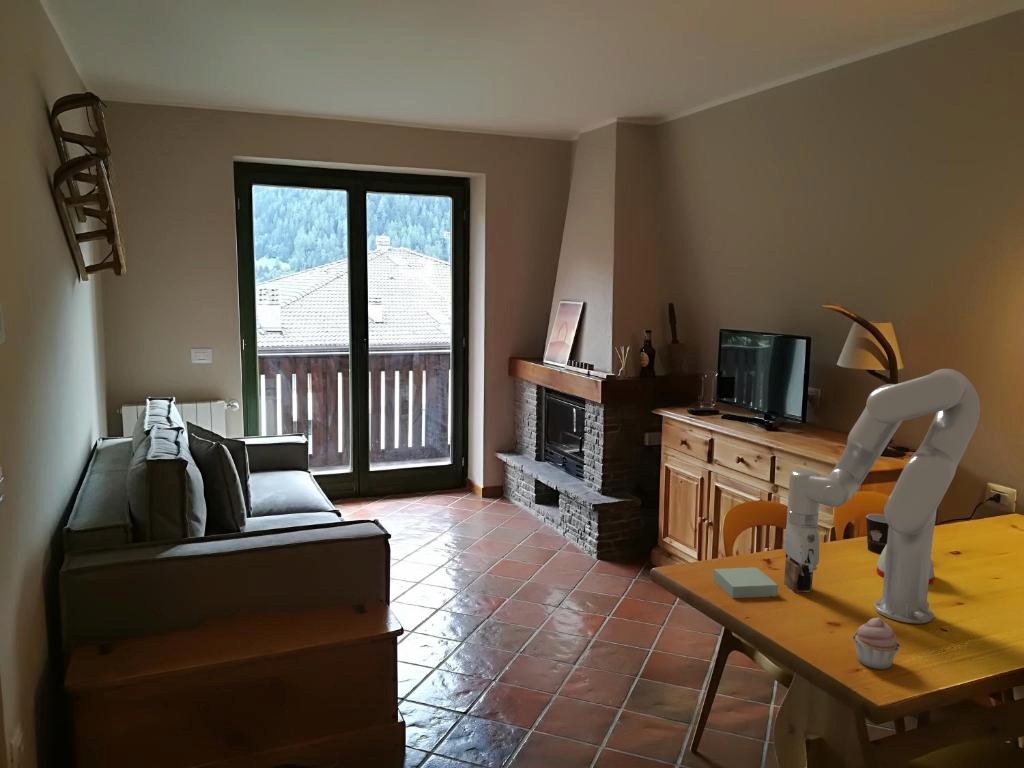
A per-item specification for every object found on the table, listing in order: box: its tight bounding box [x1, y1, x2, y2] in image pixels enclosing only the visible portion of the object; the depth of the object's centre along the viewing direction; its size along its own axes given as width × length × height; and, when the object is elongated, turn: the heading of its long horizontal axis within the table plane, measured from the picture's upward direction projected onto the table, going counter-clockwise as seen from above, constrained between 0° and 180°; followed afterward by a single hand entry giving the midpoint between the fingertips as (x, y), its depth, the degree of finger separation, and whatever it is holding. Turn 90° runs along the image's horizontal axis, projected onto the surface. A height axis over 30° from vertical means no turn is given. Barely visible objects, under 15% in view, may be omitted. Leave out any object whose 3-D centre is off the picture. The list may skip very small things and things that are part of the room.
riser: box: [712, 567, 779, 599], centre depth 196 cm, size 12×12×3 cm
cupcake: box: [850, 617, 902, 670], centre depth 157 cm, size 9×9×10 cm
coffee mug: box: [865, 513, 889, 555], centre depth 224 cm, size 12×9×10 cm
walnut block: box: [783, 559, 814, 593], centre depth 196 cm, size 5×5×7 cm
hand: (797, 584), depth 197 cm, fingers closed on walnut block, 5 cm apart
